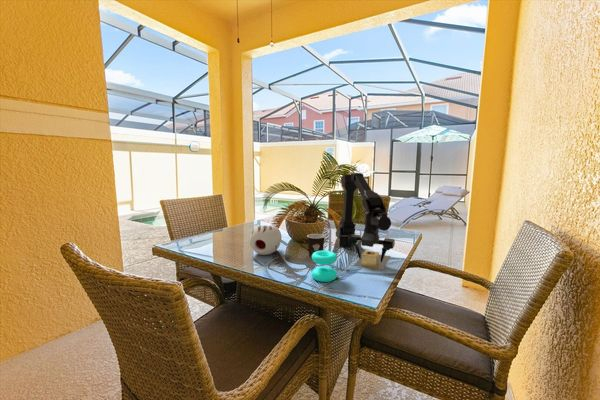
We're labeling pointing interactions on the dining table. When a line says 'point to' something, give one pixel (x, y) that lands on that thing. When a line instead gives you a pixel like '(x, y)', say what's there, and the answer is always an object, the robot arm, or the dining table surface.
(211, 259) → the dining table surface
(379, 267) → the base plate
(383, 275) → the dining table surface
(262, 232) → the decorative object
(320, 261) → the donuts
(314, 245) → the coffee mug
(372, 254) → the brass collar
